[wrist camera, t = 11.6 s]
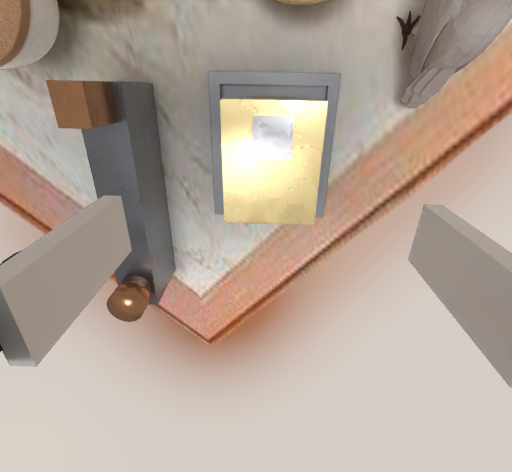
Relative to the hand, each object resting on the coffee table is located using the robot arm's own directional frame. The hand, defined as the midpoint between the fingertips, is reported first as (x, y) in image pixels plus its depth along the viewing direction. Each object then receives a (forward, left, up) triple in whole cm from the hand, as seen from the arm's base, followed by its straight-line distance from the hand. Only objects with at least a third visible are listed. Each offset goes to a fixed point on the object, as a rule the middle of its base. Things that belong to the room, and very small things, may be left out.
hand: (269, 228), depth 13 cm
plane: (+5, -14, -21) cm, 25 cm away
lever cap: (0, 0, -15) cm, 15 cm away
